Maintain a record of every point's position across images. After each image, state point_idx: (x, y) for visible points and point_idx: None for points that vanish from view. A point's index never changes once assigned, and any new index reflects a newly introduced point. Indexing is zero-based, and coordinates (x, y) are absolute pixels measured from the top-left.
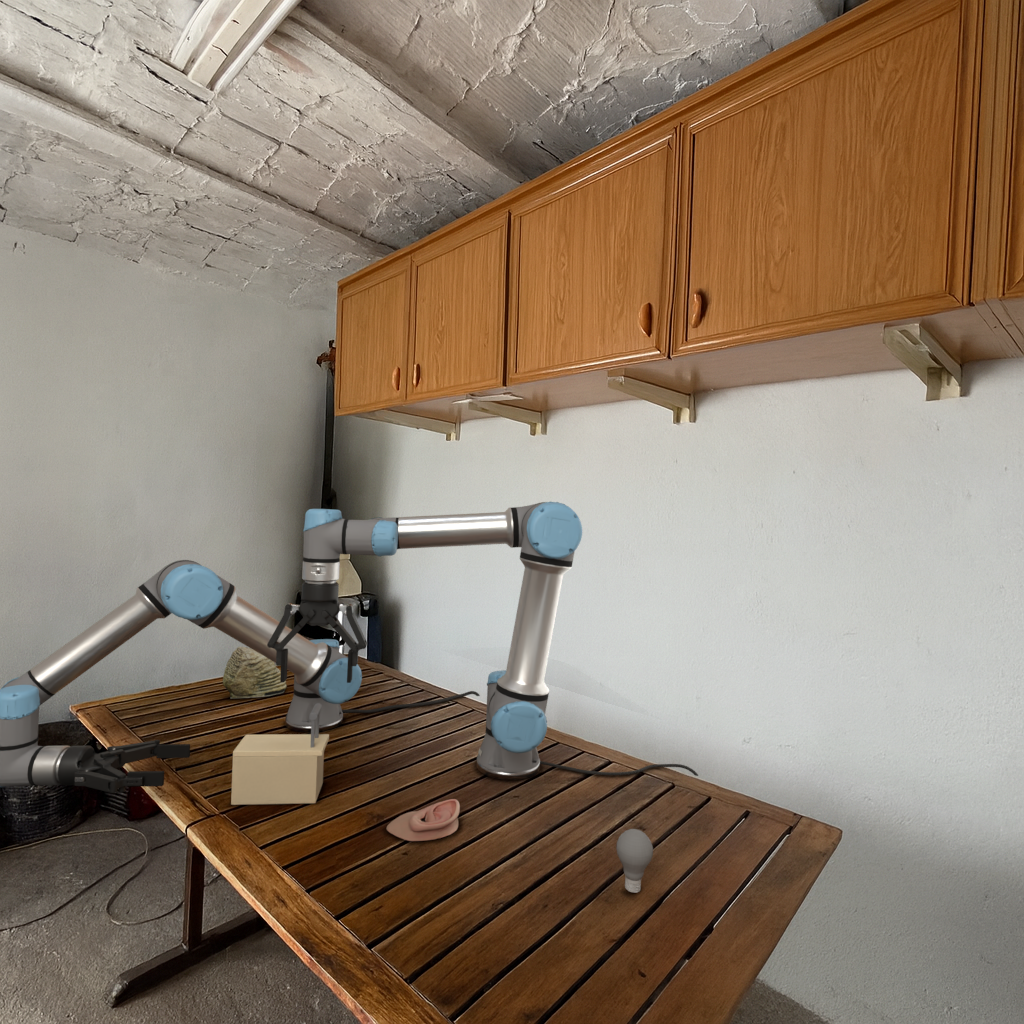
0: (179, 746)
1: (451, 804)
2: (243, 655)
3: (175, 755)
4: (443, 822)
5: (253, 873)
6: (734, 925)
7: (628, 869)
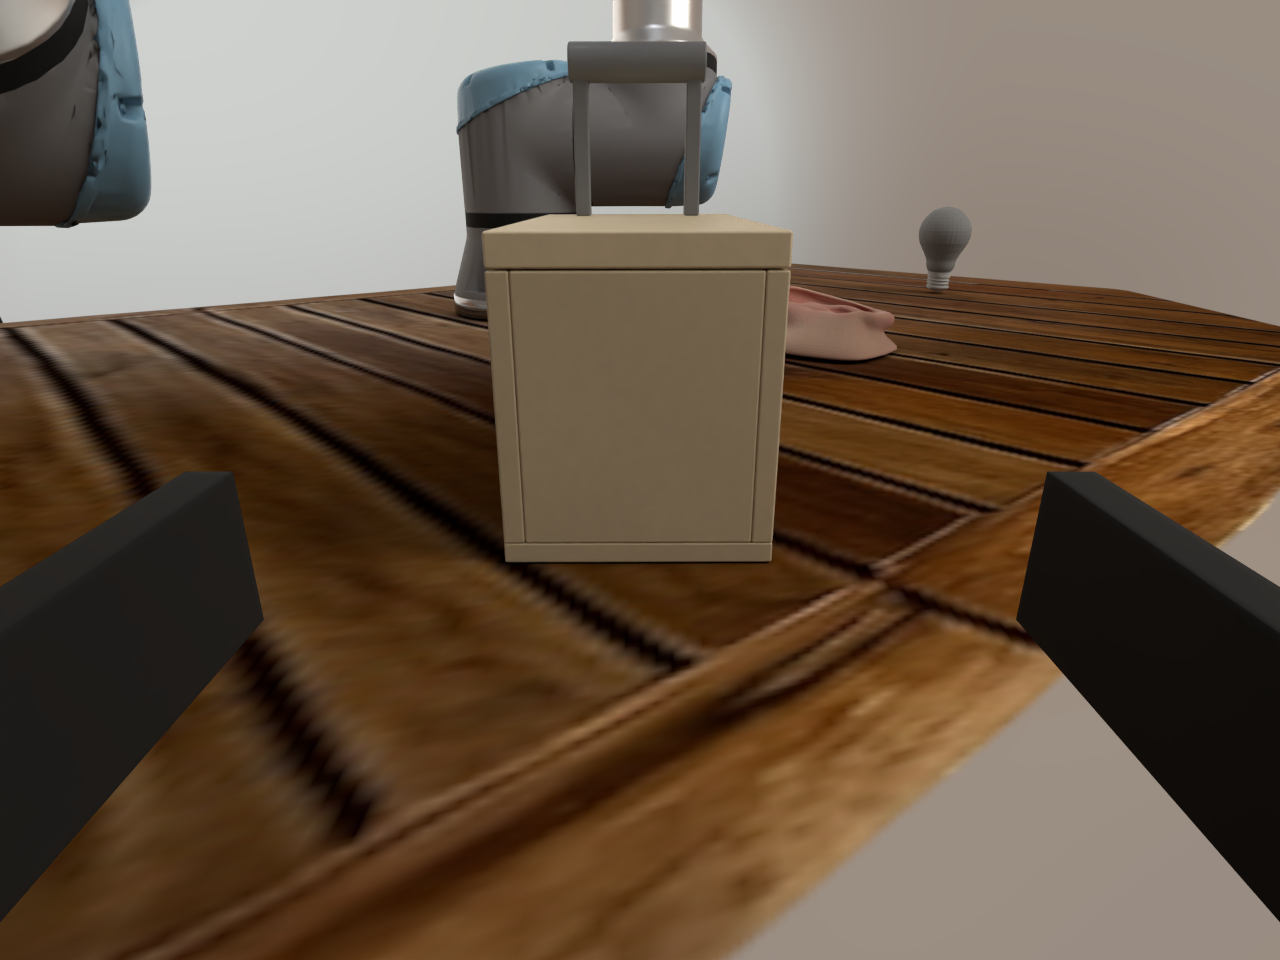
0: (161, 536)
1: None
2: None
3: (165, 691)
4: (860, 304)
5: (1235, 459)
6: (966, 281)
7: (958, 255)
